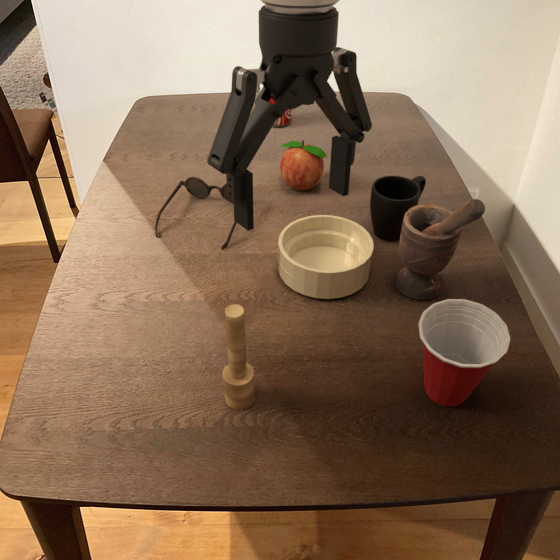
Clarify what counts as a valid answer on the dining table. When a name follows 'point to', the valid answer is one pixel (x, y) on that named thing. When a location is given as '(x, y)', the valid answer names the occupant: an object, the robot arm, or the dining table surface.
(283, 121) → the soda can
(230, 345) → the muddler
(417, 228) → the mortar and pestle
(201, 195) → the eyeglasses
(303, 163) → the fruit
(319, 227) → the bowl
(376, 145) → the dining table surface
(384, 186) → the mug
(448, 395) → the plastic cup
